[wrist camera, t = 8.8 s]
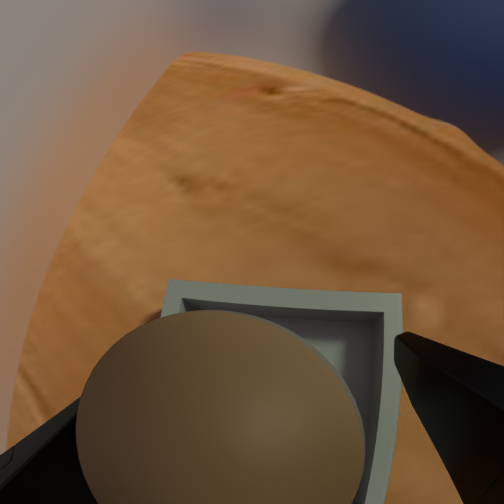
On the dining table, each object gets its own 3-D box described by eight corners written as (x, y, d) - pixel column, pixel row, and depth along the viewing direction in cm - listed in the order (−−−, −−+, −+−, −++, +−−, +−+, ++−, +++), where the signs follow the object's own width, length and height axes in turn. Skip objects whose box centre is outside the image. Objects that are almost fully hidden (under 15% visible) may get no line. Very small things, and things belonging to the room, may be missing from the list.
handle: (293, 462, 13) (278, 606, 2) (215, 429, 14) (46, 474, 3) (327, 388, 14) (418, 367, 3) (249, 357, 16) (142, 262, 5)
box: (365, 507, 11) (377, 526, 9) (157, 481, 14) (134, 492, 11) (386, 309, 17) (401, 293, 14) (186, 296, 19) (169, 279, 16)
